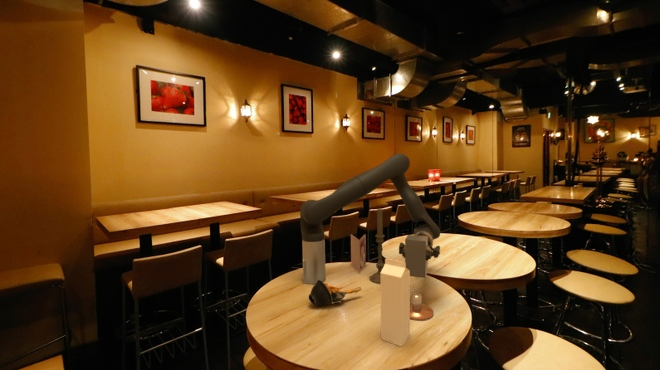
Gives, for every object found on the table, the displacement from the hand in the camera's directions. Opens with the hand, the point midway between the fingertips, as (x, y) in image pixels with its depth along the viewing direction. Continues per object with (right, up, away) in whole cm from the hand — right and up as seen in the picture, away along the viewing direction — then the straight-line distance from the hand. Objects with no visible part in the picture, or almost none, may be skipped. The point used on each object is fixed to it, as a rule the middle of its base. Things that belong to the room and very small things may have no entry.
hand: (415, 256), depth 97 cm
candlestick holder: (-7, -16, +27) cm, 32 cm away
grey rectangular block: (+1, -6, +3) cm, 7 cm away
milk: (-10, -19, -14) cm, 26 cm away
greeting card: (-15, -15, +40) cm, 45 cm away
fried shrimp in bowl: (-26, -18, +8) cm, 33 cm away
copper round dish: (0, -18, -1) cm, 18 cm away
